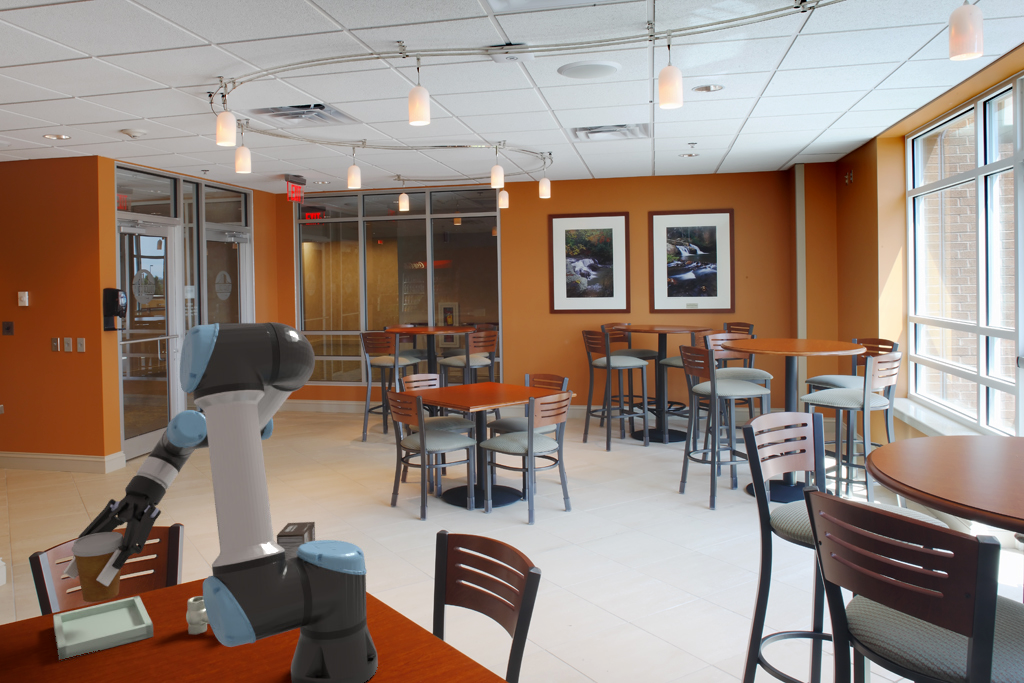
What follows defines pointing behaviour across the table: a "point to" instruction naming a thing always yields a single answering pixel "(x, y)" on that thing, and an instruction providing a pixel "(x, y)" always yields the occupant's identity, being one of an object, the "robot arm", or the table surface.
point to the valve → (196, 615)
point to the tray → (101, 627)
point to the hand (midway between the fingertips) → (85, 579)
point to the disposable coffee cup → (96, 564)
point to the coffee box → (295, 537)
